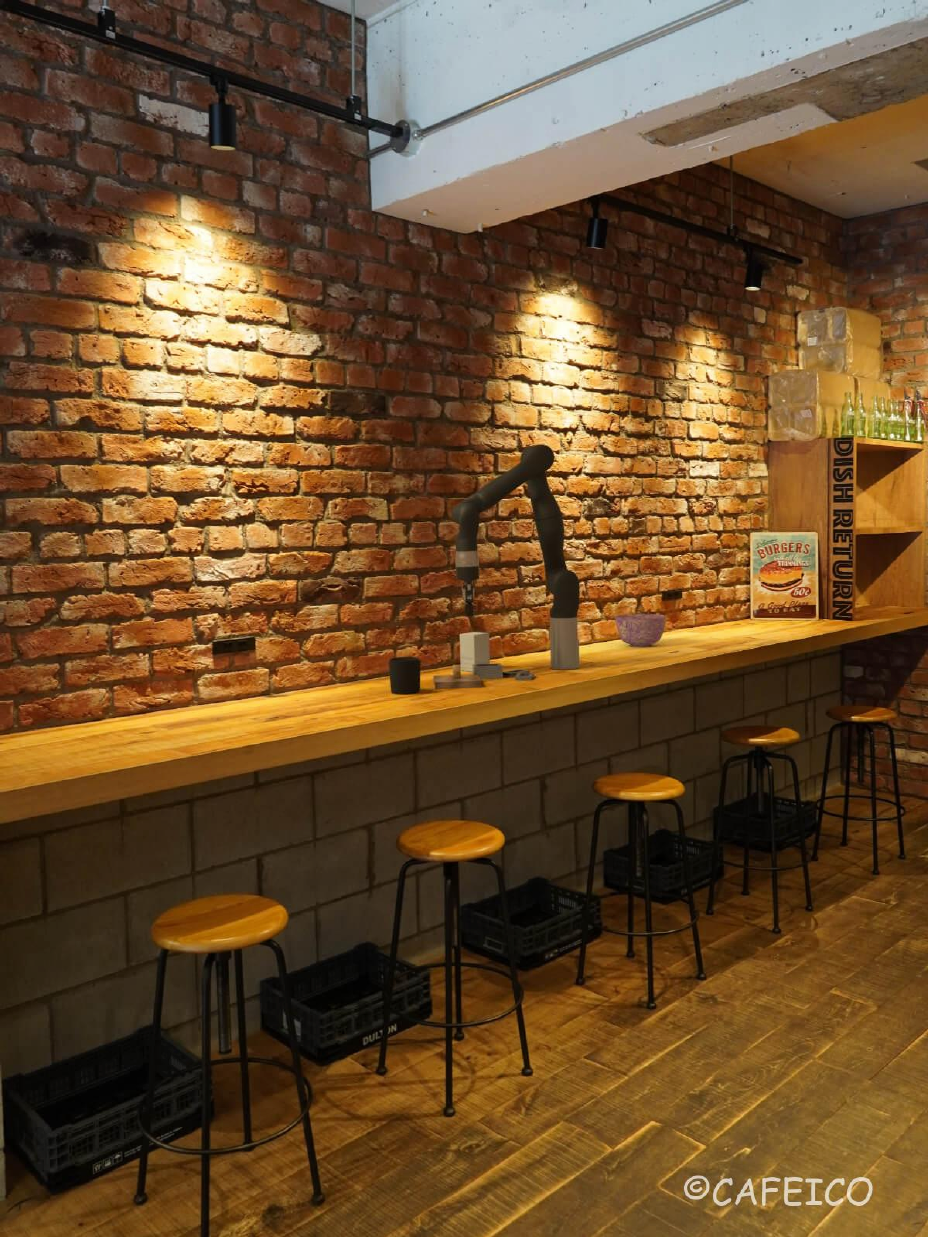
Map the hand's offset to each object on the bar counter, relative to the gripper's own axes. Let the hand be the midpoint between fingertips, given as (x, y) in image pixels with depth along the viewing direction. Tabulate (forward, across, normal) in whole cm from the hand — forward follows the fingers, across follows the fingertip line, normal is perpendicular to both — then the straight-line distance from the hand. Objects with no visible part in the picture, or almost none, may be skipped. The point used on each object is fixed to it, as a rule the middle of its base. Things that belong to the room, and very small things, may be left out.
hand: (469, 615), depth 339 cm
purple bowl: (+21, +65, -70) cm, 98 cm away
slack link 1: (+20, -2, -14) cm, 25 cm away
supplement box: (+20, +12, -2) cm, 23 cm away
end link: (+20, -5, -5) cm, 21 cm away
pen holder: (+20, -30, +21) cm, 41 cm away
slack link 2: (+20, -10, -16) cm, 28 cm away
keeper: (+20, -18, +5) cm, 27 cm away
